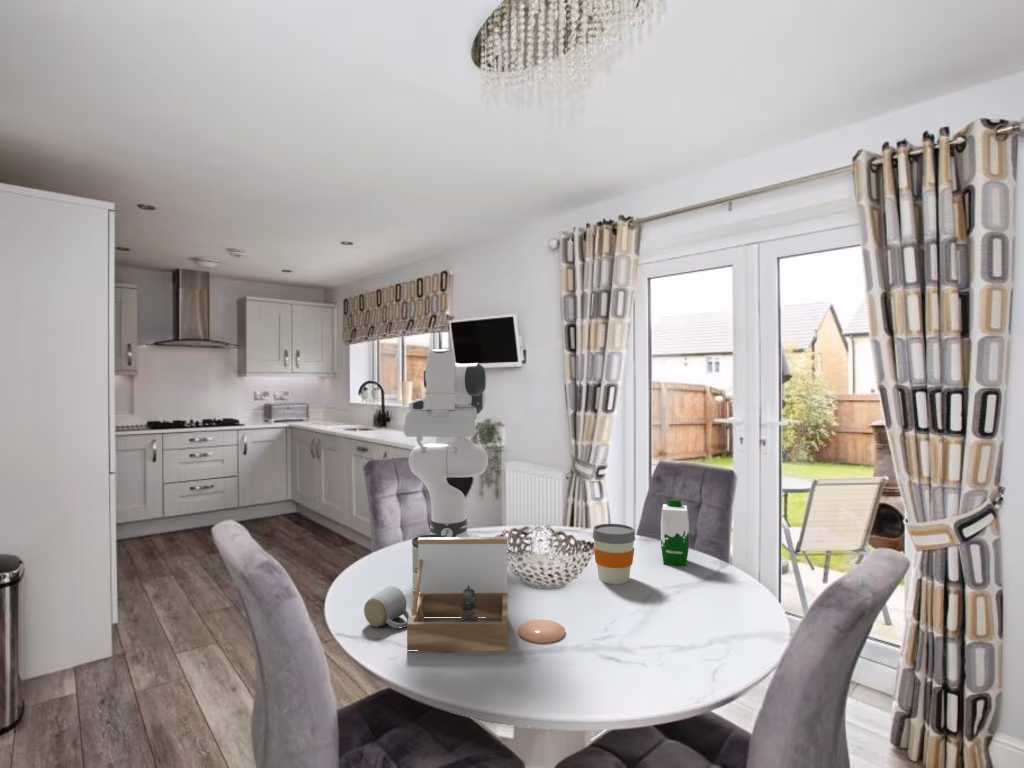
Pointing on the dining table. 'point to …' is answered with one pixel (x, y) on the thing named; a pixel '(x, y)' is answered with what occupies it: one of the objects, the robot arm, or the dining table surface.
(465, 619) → the dark grey turned piece
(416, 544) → the coffee can
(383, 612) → the ceramic mug
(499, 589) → the propped lid
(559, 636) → the glossy peach disc
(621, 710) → the dining table surface
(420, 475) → the robot arm
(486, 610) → the cold frame
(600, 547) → the reusable coffee cup
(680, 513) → the milk carton
